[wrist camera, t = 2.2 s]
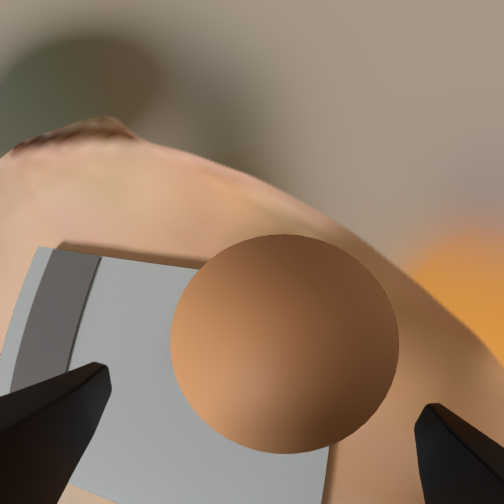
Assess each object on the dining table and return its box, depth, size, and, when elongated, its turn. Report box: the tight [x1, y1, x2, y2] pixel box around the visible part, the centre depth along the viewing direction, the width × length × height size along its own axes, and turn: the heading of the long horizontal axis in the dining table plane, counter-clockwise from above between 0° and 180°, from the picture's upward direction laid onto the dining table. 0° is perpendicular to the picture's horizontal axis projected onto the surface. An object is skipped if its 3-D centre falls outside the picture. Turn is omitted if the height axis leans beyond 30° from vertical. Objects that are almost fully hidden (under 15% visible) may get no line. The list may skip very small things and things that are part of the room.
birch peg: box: [170, 234, 399, 454], centre depth 9 cm, size 4×4×11 cm
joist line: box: [9, 249, 101, 393], centre depth 14 cm, size 12×4×1 cm, turn 173°
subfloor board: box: [0, 246, 329, 504], centre depth 15 cm, size 20×14×2 cm
